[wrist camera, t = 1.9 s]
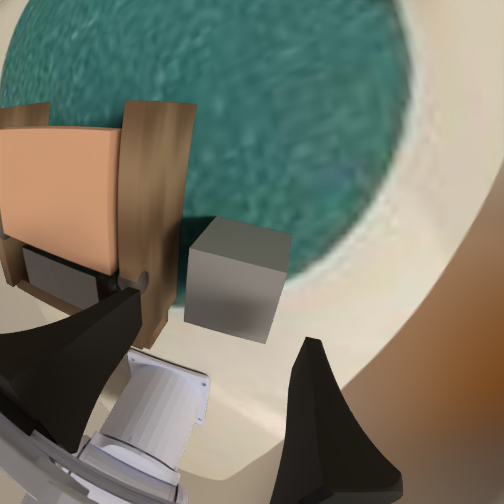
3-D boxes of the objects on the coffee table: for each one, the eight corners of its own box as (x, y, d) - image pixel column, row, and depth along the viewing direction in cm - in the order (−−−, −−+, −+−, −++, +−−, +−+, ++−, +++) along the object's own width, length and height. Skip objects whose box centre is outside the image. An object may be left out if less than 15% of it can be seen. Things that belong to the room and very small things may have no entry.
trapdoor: (136, 306, 17) (117, 331, 15) (35, 265, 18) (14, 280, 16) (140, 126, 12) (110, 131, 10) (23, 123, 13) (-5, 130, 11)
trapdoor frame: (177, 308, 21) (143, 362, 16) (49, 261, 21) (8, 293, 17) (198, 104, 14) (147, 101, 9) (41, 102, 15) (-15, 112, 10)
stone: (274, 296, 19) (265, 344, 15) (208, 278, 19) (184, 321, 15) (292, 234, 17) (287, 273, 13) (217, 215, 17) (189, 248, 13)
